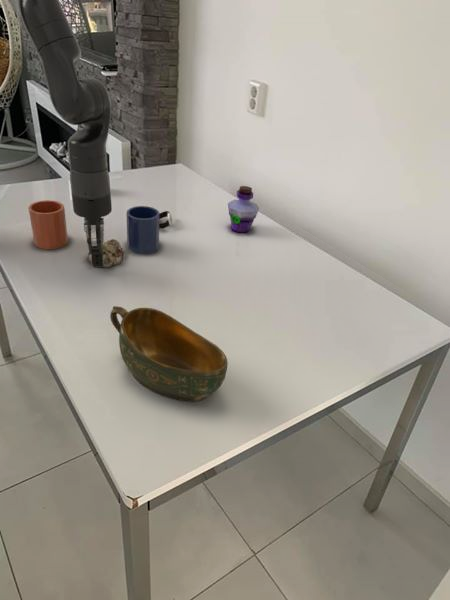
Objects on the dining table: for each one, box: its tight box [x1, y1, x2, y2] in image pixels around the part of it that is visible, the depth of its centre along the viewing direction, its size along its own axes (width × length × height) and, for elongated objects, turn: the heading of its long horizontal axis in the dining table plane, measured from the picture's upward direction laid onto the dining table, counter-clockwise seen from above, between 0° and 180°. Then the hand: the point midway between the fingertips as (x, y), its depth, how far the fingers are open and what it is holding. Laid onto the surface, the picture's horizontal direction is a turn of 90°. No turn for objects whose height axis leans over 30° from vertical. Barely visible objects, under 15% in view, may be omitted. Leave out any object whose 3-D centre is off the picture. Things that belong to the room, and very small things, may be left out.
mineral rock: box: [87, 239, 124, 268], centre depth 105 cm, size 11×4×8 cm
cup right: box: [125, 205, 160, 255], centre depth 109 cm, size 8×8×9 cm
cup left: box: [28, 200, 69, 250], centre depth 106 cm, size 8×8×9 cm
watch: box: [159, 210, 173, 230], centre depth 122 cm, size 8×5×4 cm, turn 179°
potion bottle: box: [227, 185, 260, 234], centre depth 122 cm, size 9×9×12 cm
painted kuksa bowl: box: [109, 305, 228, 402], centre depth 73 cm, size 13×20×10 cm, turn 33°
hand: (97, 265), depth 99 cm, fingers closed
